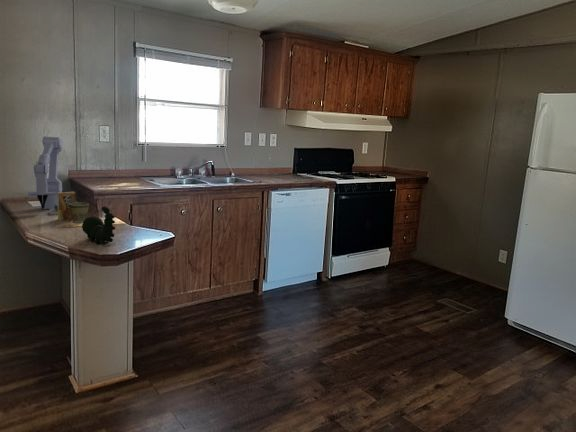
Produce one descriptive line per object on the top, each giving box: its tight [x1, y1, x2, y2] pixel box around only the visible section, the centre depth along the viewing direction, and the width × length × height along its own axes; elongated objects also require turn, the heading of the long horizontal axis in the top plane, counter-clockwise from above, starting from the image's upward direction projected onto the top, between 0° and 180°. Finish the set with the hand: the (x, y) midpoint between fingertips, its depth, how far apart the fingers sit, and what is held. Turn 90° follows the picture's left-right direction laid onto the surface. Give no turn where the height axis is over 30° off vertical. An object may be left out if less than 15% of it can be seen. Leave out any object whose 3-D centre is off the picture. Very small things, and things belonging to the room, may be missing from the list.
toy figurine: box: [81, 206, 116, 244], centre depth 217 cm, size 9×19×25 cm
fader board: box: [49, 209, 58, 216], centre depth 278 cm, size 20×8×2 cm, turn 117°
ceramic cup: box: [69, 201, 90, 224], centre depth 256 cm, size 13×10×10 cm
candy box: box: [57, 191, 77, 222], centre depth 258 cm, size 9×4×15 cm, turn 129°
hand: (43, 207), depth 271 cm, fingers closed
